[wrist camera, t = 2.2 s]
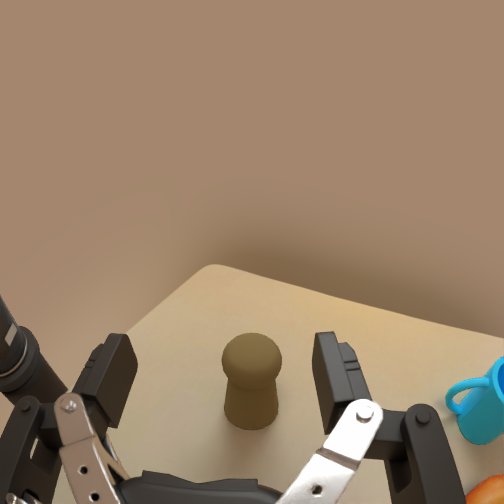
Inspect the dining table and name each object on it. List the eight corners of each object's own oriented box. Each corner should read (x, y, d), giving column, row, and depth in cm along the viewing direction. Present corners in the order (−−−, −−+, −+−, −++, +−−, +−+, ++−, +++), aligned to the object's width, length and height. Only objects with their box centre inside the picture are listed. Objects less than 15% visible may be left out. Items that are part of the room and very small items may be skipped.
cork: (271, 435, 27) (281, 385, 21) (216, 422, 28) (204, 368, 22) (283, 390, 32) (293, 329, 26) (232, 379, 33) (228, 316, 27)
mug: (501, 397, 26) (533, 361, 21) (500, 447, 20) (540, 414, 15) (436, 383, 30) (465, 343, 26) (428, 436, 24) (465, 402, 20)
